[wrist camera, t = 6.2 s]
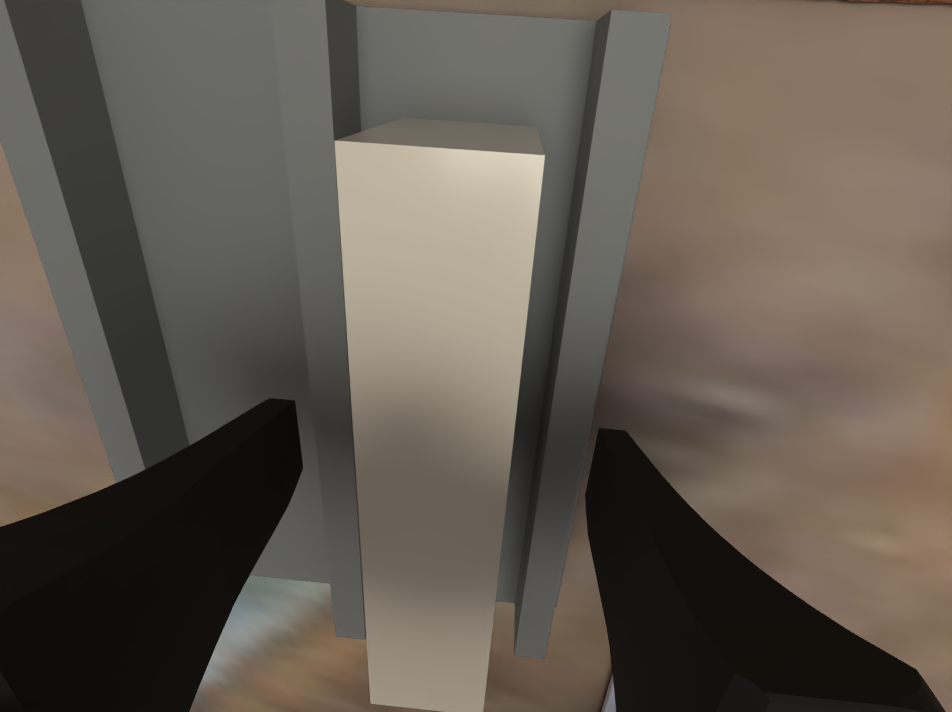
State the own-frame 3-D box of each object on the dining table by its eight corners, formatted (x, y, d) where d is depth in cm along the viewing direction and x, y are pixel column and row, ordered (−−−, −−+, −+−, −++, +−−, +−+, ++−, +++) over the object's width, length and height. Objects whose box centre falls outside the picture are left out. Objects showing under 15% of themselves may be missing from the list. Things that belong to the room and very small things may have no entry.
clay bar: (491, 563, 18) (482, 716, 14) (406, 554, 18) (370, 703, 14) (536, 126, 12) (545, 155, 7) (403, 117, 12) (334, 140, 8)
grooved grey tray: (554, 583, 20) (559, 661, 17) (195, 547, 21) (147, 616, 18) (659, 29, 12) (700, 15, 9) (47, -9, 12) (-85, -33, 10)
